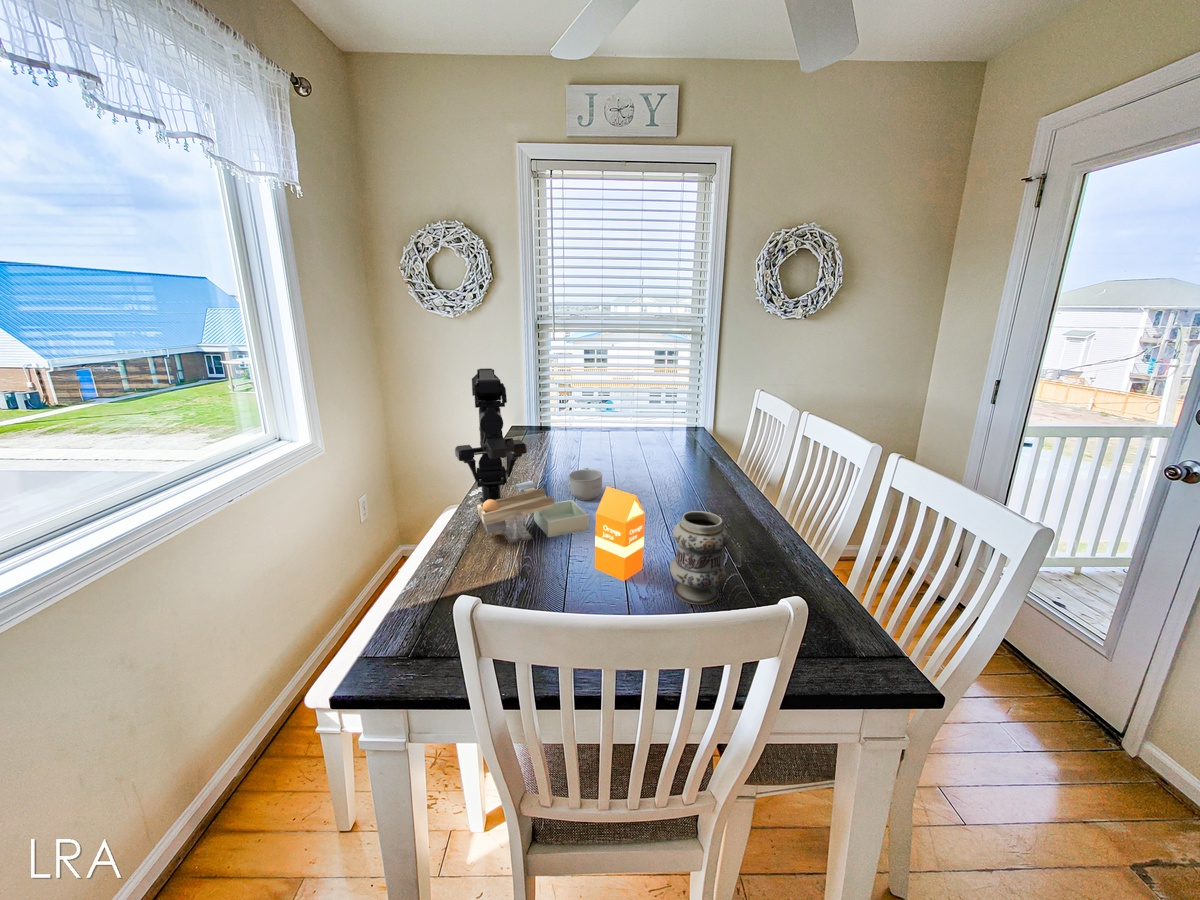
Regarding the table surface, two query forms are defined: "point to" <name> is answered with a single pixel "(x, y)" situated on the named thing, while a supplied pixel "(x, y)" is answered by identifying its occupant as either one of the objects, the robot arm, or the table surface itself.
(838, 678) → the table surface
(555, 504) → the bin
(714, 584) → the apothecary jar
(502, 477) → the robot arm
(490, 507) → the ball
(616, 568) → the orange juice
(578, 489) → the teacup
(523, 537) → the pivot stand
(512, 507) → the lever
